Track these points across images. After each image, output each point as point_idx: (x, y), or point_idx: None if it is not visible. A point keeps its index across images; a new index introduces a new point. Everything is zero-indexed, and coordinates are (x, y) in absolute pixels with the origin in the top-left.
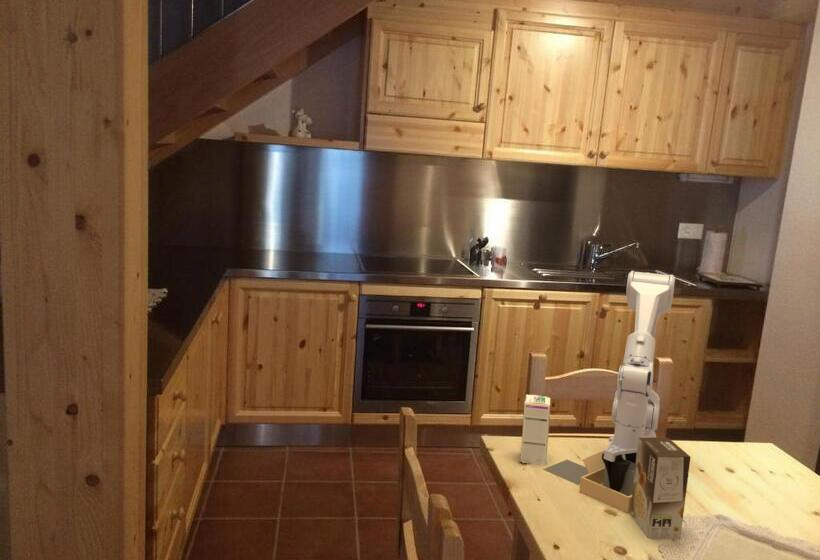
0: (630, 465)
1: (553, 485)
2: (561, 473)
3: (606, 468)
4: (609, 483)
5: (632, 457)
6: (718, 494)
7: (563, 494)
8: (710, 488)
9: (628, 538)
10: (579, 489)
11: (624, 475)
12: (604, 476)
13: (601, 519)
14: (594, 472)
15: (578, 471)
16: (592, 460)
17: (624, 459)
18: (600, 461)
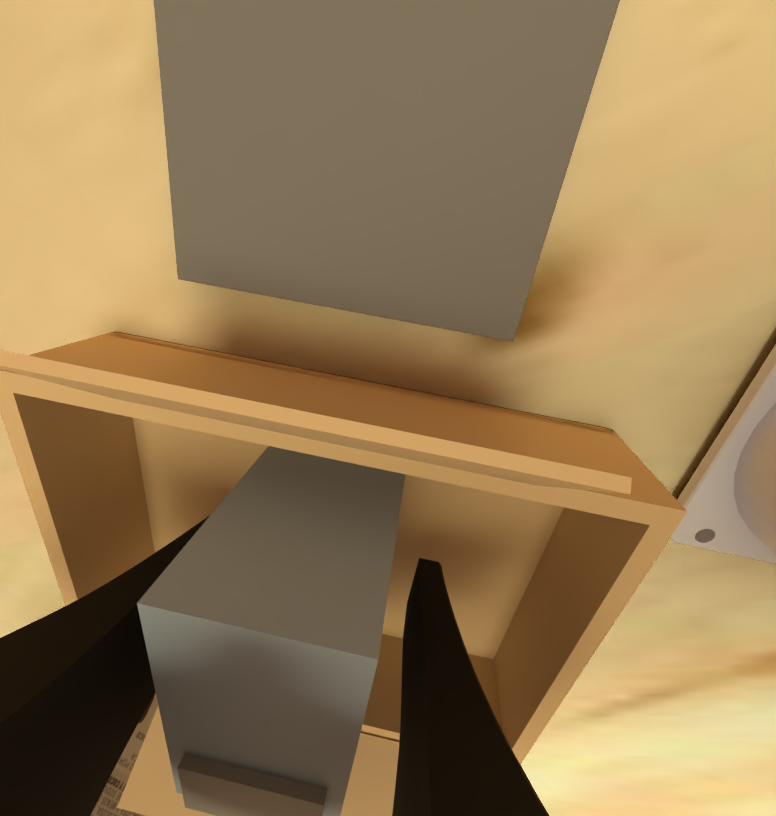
0: (269, 764)
1: (29, 104)
2: (235, 19)
3: (43, 620)
4: (186, 532)
5: (409, 811)
6: (648, 788)
7: (8, 254)
8: (703, 773)
9: (21, 610)
10: (91, 338)
11: (147, 697)
12: (242, 484)
13: (22, 513)
14: (178, 424)
15: (413, 147)
16: (176, 406)
17: (359, 727)
18: (339, 442)
